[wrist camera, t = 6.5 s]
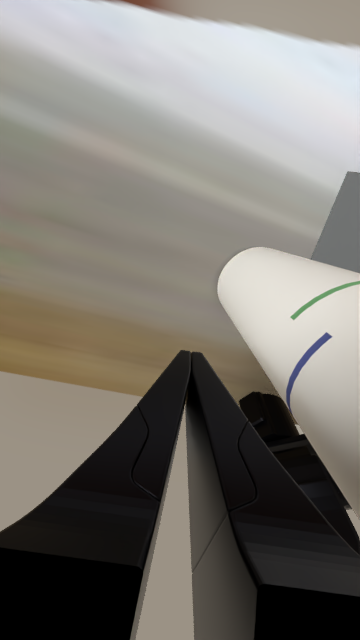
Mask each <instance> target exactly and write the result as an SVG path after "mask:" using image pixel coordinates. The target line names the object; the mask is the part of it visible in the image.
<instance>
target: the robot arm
mask: <svg viewBox="0 0 360 640" xmlns="http://www.w3.org/2000/svg"><path fill="white" fill-rule="evenodd" d="M185 401H186V406H185ZM239 404H240V407H239V406H238V405H237V403H236V402H235V400H234V399H233V397H232V396H231V394H230V393H229V391H228V390H227V389H226V387H225V386H224V384H223V383H222V381H221V380H220V378H219V377H218V376H217V374H216V373H215V371H214V370H213V368H212V367H211V365H210V364H209V363H208V361H207V360H206V358H205V357H204V355H203V354H202V353H200V352H192V353H191V352H190V351H185V350H181V351H180V352H179V353H178V354H177V355H176V357H175V358H174V359H173V360H172V362H171V363H170V364H169V365H168V367H167V368H166V369H165V370H164V372H163V373H162V374H161V375H160V377H159V378H158V379H157V380H156V382H155V383H154V384H153V385H152V387H151V388H150V389H149V390H148V392H147V393H146V394H145V395H144V397H143V398H142V399H141V400H140V402H139V403H138V404H137V406H136V407H135V408H134V409H133V410H132V411H131V413H130V414H129V415H128V416H127V417H126V419H125V420H124V421H123V422H122V423H121V424H120V426H119V427H118V428H117V429H116V430H115V431H114V432H113V433H112V434H111V435H110V436H109V437H108V438H107V439H106V441H104V443H103V444H102V445H101V446H100V447H99V448H98V449H97V450H96V451H95V452H94V453H92V454H91V456H90V457H89V458H87V460H85V461H84V463H82V464H81V465H80V467H78V468H77V469H76V470H75V471H74V472H73V473H72V474H71V475H70V476H69V477H68V478H67V479H66V480H65V481H64V482H63V483H62V484H61V485H60V486H59V487H58V488H57V489H56V490H55V491H54V492H53V493H52V494H51V495H50V496H49V497H48V498H46V499H45V500H44V501H43V502H42V503H41V504H39V505H38V506H37V507H36V508H34V509H33V510H32V511H31V512H29V513H28V514H27V515H25V516H24V517H22V518H21V519H20V520H18V521H17V522H15V523H14V524H12V525H10V526H9V527H7V528H5V529H4V530H2V531H1V532H0V640H135V638H136V633H137V629H138V623H139V619H140V615H141V610H142V605H143V600H144V596H145V591H146V586H147V581H148V576H149V572H150V566H151V562H152V558H153V553H154V548H155V544H156V539H157V533H158V529H159V525H160V520H161V515H162V510H163V506H164V501H165V496H166V492H167V487H168V482H169V477H170V473H171V468H172V463H173V458H174V454H175V449H176V444H177V440H178V435H179V430H180V425H181V421H182V415H183V411H184V406H185V408H186V409H185V410H186V436H187V437H186V438H187V462H188V488H189V514H190V538H191V564H192V573H193V574H192V589H193V590H192V591H193V616H194V640H360V540H359V536H358V534H357V532H356V530H355V528H354V526H353V524H352V522H351V520H350V518H349V516H348V514H347V512H346V510H349V509H352V508H351V506H350V504H349V503H348V501H347V500H346V498H345V497H344V495H343V493H342V492H341V490H340V489H339V487H338V486H337V484H336V483H335V481H334V479H333V478H332V476H331V475H330V473H329V472H328V470H327V468H326V467H325V465H324V464H323V462H322V461H321V459H320V458H319V456H318V454H317V453H316V451H315V450H314V448H313V447H312V445H311V443H310V442H309V440H308V439H307V437H306V436H305V434H301V435H299V433H298V430H297V429H296V426H295V424H294V422H293V420H292V418H291V416H290V414H289V412H288V410H287V408H286V405H285V403H284V402H283V400H282V399H281V398H279V397H278V396H275V395H271V394H261V393H260V392H252V393H250V394H249V395H247V396H246V397H244V398H243V399H241V400H240V401H239ZM240 408H241V409H240Z"/></svg>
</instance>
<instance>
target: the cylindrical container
mask: <svg viewBox="0 0 360 640" xmlns="http://www.w3.org/2000/svg"><path fill="white" fill-rule="evenodd" d="M217 292H218V297H219V300H220V302H221V304H222V306H223V307H224V309H225V311H226V312H227V314H228V315H229V317H230V318H231V320H232V321H233V323H234V325H235V326H236V328H237V329H238V331H239V332H240V334H241V336H242V337H243V339H244V340H245V342H246V343H247V345H248V347H249V348H250V350H251V351H252V353H253V354H254V356H255V357H256V359H257V361H258V362H259V364H260V365H261V367H262V368H263V370H264V372H265V373H266V375H267V376H268V378H269V379H270V381H271V382H272V384H273V386H274V387H275V389H276V390H277V392H278V393H279V395H280V397H281V398H282V400H283V401H284V403H285V404H286V406H287V407H288V409H289V411H290V412H291V413H292V414H293V417H294V418H295V420H296V422H297V423H298V425H299V426H300V428H301V429H302V431H303V432H304V434H305V436H306V437H307V439H308V440H309V442H310V443H311V445H312V447H313V448H314V450H315V451H316V453H317V454H318V456H319V458H320V459H321V461H322V462H323V464H324V465H325V467H326V468H327V470H328V472H329V473H330V475H331V476H332V478H333V479H334V481H335V483H336V484H337V486H338V487H339V489H340V490H341V492H342V493H343V495H344V497H345V498H346V500H347V501H348V503H349V504H350V506H351V508H352V509H353V511H354V512H355V514H356V515H357V517H358V518H359V520H360V273H357V272H353V271H350V270H346V269H342V268H339V267H335V266H332V265H328V264H325V263H321V262H317V261H314V260H310V259H307V258H303V257H300V256H296V255H292V254H289V253H285V252H282V251H278V250H274V249H271V248H266V247H254V248H250V249H247V250H244V251H242V252H240V253H238V254H237V255H236V256H234V257H233V258H232V259H231V260H230V261H229V262H228V263H227V264H226V266H225V267H224V269H223V270H222V272H221V275H220V277H219V281H218V290H217Z"/></svg>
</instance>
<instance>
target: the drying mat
mask: <svg viewBox="0 0 360 640" xmlns="http://www.w3.org/2000/svg"><path fill="white" fill-rule="evenodd" d="M311 260H314V261H317V262H321V263H325V264H328V265H332V266H335V267H339V268H342V269H346V270H350V271H353V272H357V273H360V173H357V172H349V171H348V172H347V174H346V176H345V179H344V181H343V183H342V186H341V188H340V191H339V193H338V195H337V198H336V200H335V203H334V205H333V207H332V210H331V212H330V214H329V217H328V219H327V222H326V224H325V226H324V229H323V231H322V233H321V236H320V238H319V241H318V243H317V245H316V248H315V250H314V253H313V255H312V257H311Z"/></svg>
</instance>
